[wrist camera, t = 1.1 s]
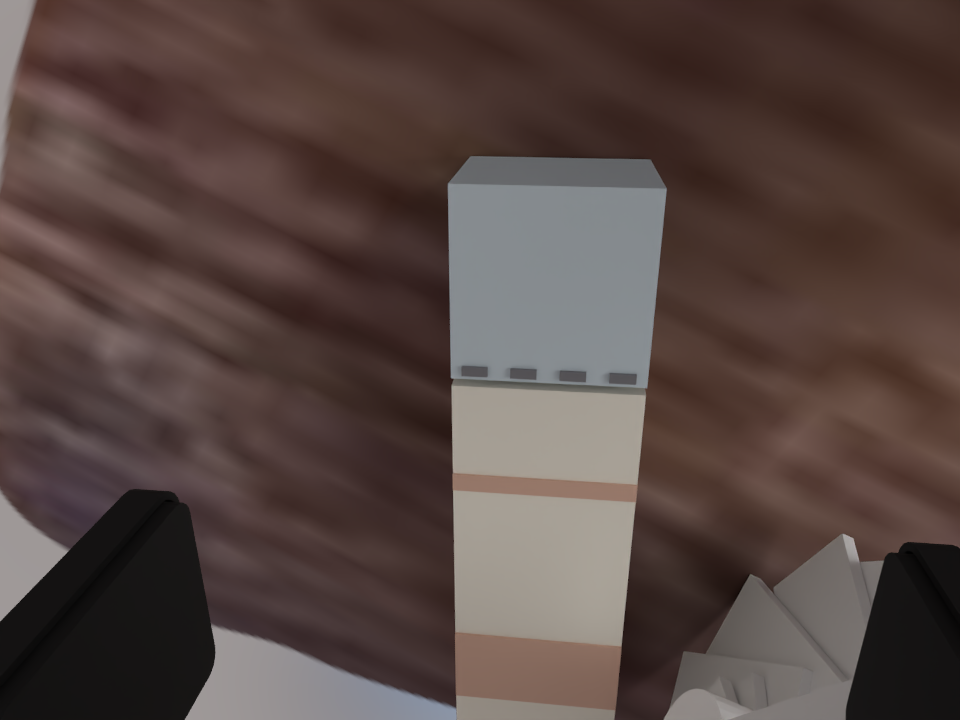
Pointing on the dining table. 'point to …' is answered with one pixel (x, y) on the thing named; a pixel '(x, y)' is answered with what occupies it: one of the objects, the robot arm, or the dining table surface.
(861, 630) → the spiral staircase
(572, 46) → the dining table surface
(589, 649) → the block
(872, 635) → the robot arm
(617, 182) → the grey box
